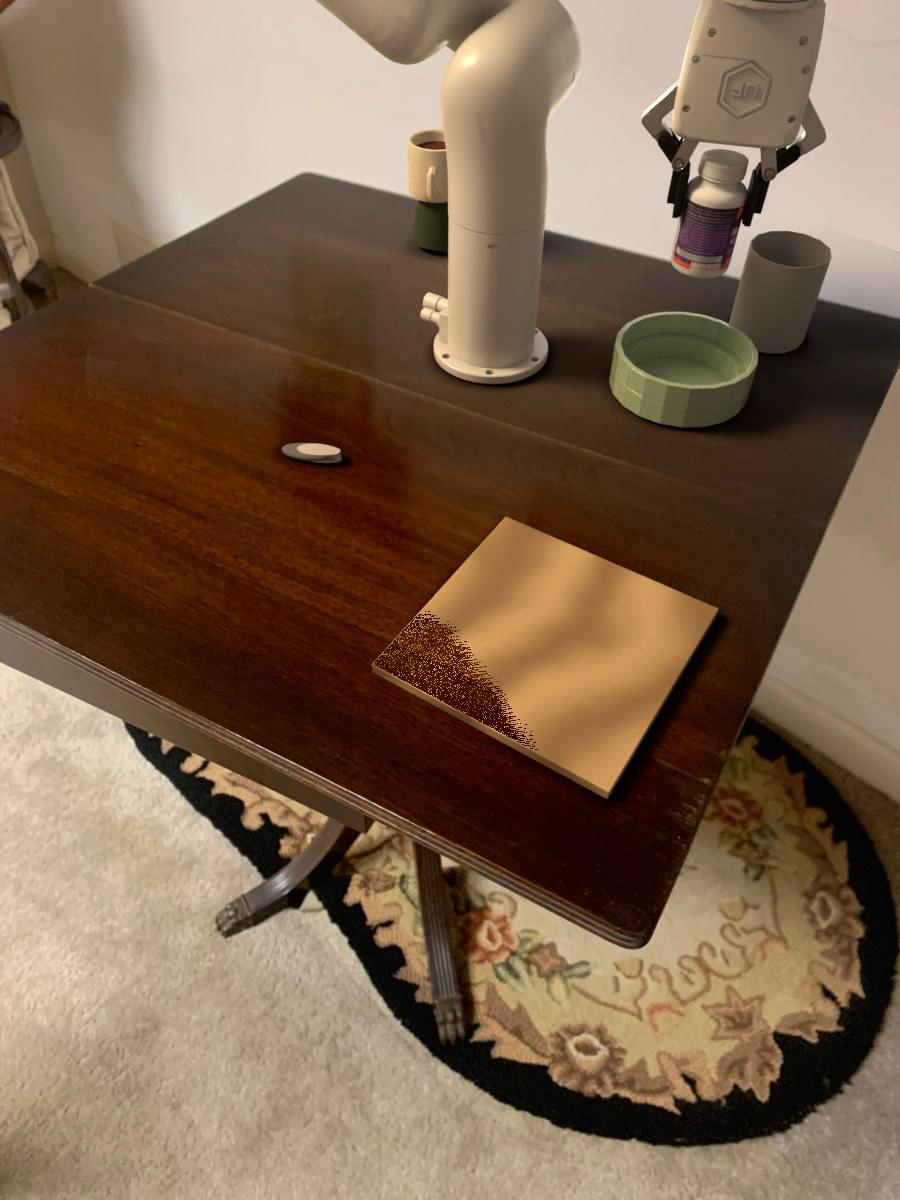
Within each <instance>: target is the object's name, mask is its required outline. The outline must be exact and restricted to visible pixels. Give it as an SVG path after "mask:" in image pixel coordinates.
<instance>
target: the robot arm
mask: <svg viewBox="0 0 900 1200" xmlns="http://www.w3.org/2000/svg"><path fill="white" fill-rule="evenodd" d="M315 1H316V2H317V3H318V4H319V5H321V7H323V8H324V9H325V10H327V11H328V12H329V13H330V14H332V15H333V16H334V17H335V18H336V19H337V20H339V22H341V23H343V24H344V25H345V26H346V27H348V28H349V29H350V30H351V31H352V32H354V33H355V34H356V35H357V36H358V37H359V38H361V39H362V41H364V42H365V43H366V44H367V45H369V46H370V47H371V48H373V49H374V50H375V51H377V52H378V53H379V54H380V55H382V56H383V57H384V58H386V59H387V60H389V61H390V62H393V63H396V64H400V65H404V66H412V65H415V64H416V65H417V64H420V63H422V62H424V61H425V60H427V59H429V58H431V57H432V56H435V55H436V54H437V53H439V52H440V51H441V50H443V49H444V48H445V47H447V48H448V49H450V50H451V51H452V52H453V55H452V56H451V58H450V60H449V62H448V64H447V66H446V68H445V72H444V74H443V79H442V82H441V83H442V84H441V89H440V115H441V123H442V129H443V131H444V138H445V145H446V154H447V168H448V215H449V225H448V251H447V258H448V259H447V262H448V263H447V298H445V296H442V295H439V294H436V293H433V292H430V291H429V292H427V293H426V294H425V295H424V297H423V300H422V309H421V310H420V314H419V317H420V320H422V321H424V322H427V323H430V324H435V325H436V326H437V328H438V332H437V333H436V335H435V337H434V339H433V356H434V359H435V361H436V363H437V364H438V365H439V367H440V368H442V369H443V370H444V371H446V373H448V374H450V375H452V376H453V377H456V378H458V379H461V380H463V381H467V382H471V383H476V384H481V385H482V384H484V385H502V384H511V383H515V382H519V381H522V380H525V379H527V378H530V377H531V376H533V375H534V374H536V373H538V371H540V370H541V369H542V368H543V367H544V365H545V364H546V362H547V359H548V356H549V355H548V354H549V343H548V340H547V338H546V336H545V335H544V334H543V332H541V330H539V329H538V328H537V320H538V307H539V298H540V285H541V275H542V263H543V262H542V261H543V252H544V251H543V250H544V237H545V230H546V229H545V227H546V215H547V214H546V212H547V201H548V199H547V198H548V187H549V186H548V184H549V170H548V169H549V167H548V165H549V164H548V150H547V134H548V127H549V123H550V119H551V117H552V116H553V115H554V113H555V112H556V111H557V109H558V108H559V107H560V106H561V104H562V103H563V102H564V101H565V100H566V99H567V97H569V95H570V93H571V92H572V90H573V89H574V88H575V85H576V84H577V82H578V80H579V77H580V74H581V71H582V67H583V61H584V45H583V43H584V42H583V39H582V34H581V31H580V28H579V26H578V24H577V21H576V20H575V18H574V17H573V16H572V14H571V13H570V11H569V10H568V9H567V7H565V5H564V4H563V3H562V2H561V1H560V0H315ZM826 7H827V4H826V2H825V0H701V1H700V4H699V6H698V9H697V11H696V15H695V17H694V21H693V25H692V28H691V32H690V35H689V39H688V41H687V45H686V49H685V53H684V57H683V61H682V65H681V71H680V74H679V78H678V79H677V80H676V81H675V82H674V83H673V84H672V85H671V86H670V87H669V88H668V89H667V90H665V92H663V94H661V95H660V96H659V97H658V98H657V99H656V100H654V101H653V103H651V104H650V105H649V106H648V107H647V108H646V109H645V110H644V111H643V113H642V115H641V124H642V126H643V128H644V129H645V130H646V131H647V132H648V134H649V135H650V136H651V138H652V139H653V140H655V141H656V143H657V145H658V147H659V149H660V150H661V151H662V154H664V156H665V157H666V159H667V160H668V162H669V163H670V164H671V166H670V167H671V169H672V173H671V176H670V177H671V178H670V183H669V188H668V193H667V197H666V204H670V205H673V206H672V213H671V214H672V215H671V218H672V219H679V217H681V213H682V208H683V203H684V199H685V194H686V190H687V185H688V183H689V181H690V176H691V175H690V174H691V166H692V164H691V161H690V160H691V157H692V156H693V154H694V152H695V150H696V149H697V147H698V145H699V143H706V144H714V145H715V144H716V145H724V146H731V147H732V146H733V147H744V148H753V149H759V150H760V151H759V152H760V161H758V162H757V165H756V166H755V167H754V168H753V169H752V172H751V175H750V179H749V183H748V187H747V191H748V197H747V202H746V206H745V209H744V213H743V217H742V220H741V225H743V226H744V227H748V228H750V227H751V225H752V222H753V219H754V215H755V214H757V215H761V214H762V212H763V208H764V204H765V201H766V198H767V194H768V191H769V187H770V185H771V184H770V183H771V182H772V181H773V180H775V179H776V178H777V176H778V174H779V173H781V172H782V171H784V170H785V169H787V168H788V167H790V166H791V165H793V164H794V163H795V162H797V161H798V160H799V159H800V158H801V157H802V156H804V155H807V154H808V153H810V152H812V151H813V150H814V149H816V148H818V147H819V146H821V145H823V144H824V143H825V142H826V140H827V133H826V128H825V126H824V124H823V122H822V120H821V118H820V116H819V114H818V112H817V110H816V108H815V106H814V104H813V103H812V99H811V98H810V92H811V88H812V85H813V80H814V77H815V72H816V68H817V63H818V59H819V55H820V49H821V44H822V38H823V31H824V26H825V18H826ZM671 112H672V118H671V119H672V120H671V122H672V123H671V125H672V127H669V126H668V124H667V122H666V121H665V120H664V118H665V117H666V116H667V115H669V113H671ZM801 127H802V128H803V130H804V131H803V132H802V133H801V134H800V135H799V132H800V129H801ZM678 137H679V138H678Z"/></svg>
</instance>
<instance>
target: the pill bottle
mask: <svg viewBox="0 0 900 1200" xmlns="http://www.w3.org/2000/svg"><path fill="white" fill-rule="evenodd" d="M748 166H749V158H748V157H747V156H746V155H745V154H743V153H741V152H739V151H736V150H731V149H727V148H714V149H713V148H712V149H707V150H705V151H704V152H703V153H701V157H700V161H699V164H698V169H697V173H698V175H696V176H695V177H692V178H691V179H689V180H688V185H687V190H686V194H685V199H684V203H683V208H682V213H681V217H678V222H677V227H676V230H675V231H676V232H675V236H674V241H673V246H672V250H671V256H670V263H671V265H672V267H673V268H674V269H675V270H676V271H677V272H679V273H681V274H682V275H685V276H687V277H691V278H696V279H713V278H718V277H720V276H722V275H724V274H725V273H726V272H727V271H728V270H729V267H730V264H731V260H732V258H733V253H734V250H735V246H736V243H737V242H736V241H737V239H738V235H739V231H740V228H741V225H742V217H743V213H744V209H745V206H746V202H747V197H748V191H747V190H748V187H747V186H746V185H745V184H744V182H743V181H744V180H745V177H746V175H747V170H748Z"/></svg>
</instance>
